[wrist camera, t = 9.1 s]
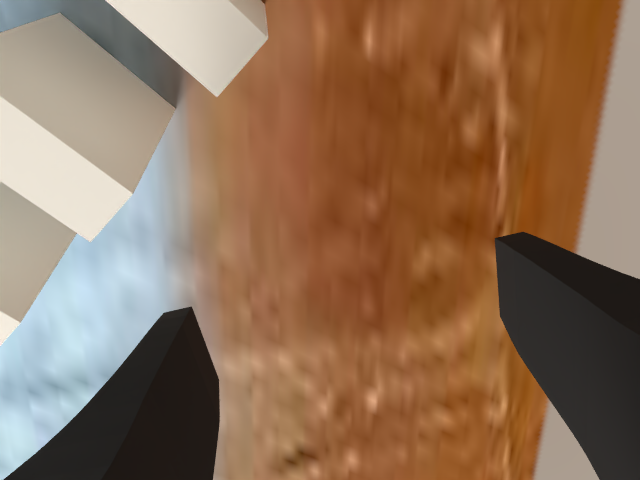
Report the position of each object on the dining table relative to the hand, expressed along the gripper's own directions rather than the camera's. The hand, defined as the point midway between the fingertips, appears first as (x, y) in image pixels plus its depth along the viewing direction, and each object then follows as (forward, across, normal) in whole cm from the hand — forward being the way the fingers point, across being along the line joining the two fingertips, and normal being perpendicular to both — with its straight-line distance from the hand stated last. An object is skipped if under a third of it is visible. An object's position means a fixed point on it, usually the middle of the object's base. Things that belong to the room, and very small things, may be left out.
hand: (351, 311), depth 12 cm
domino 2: (+9, +6, -4) cm, 12 cm away
